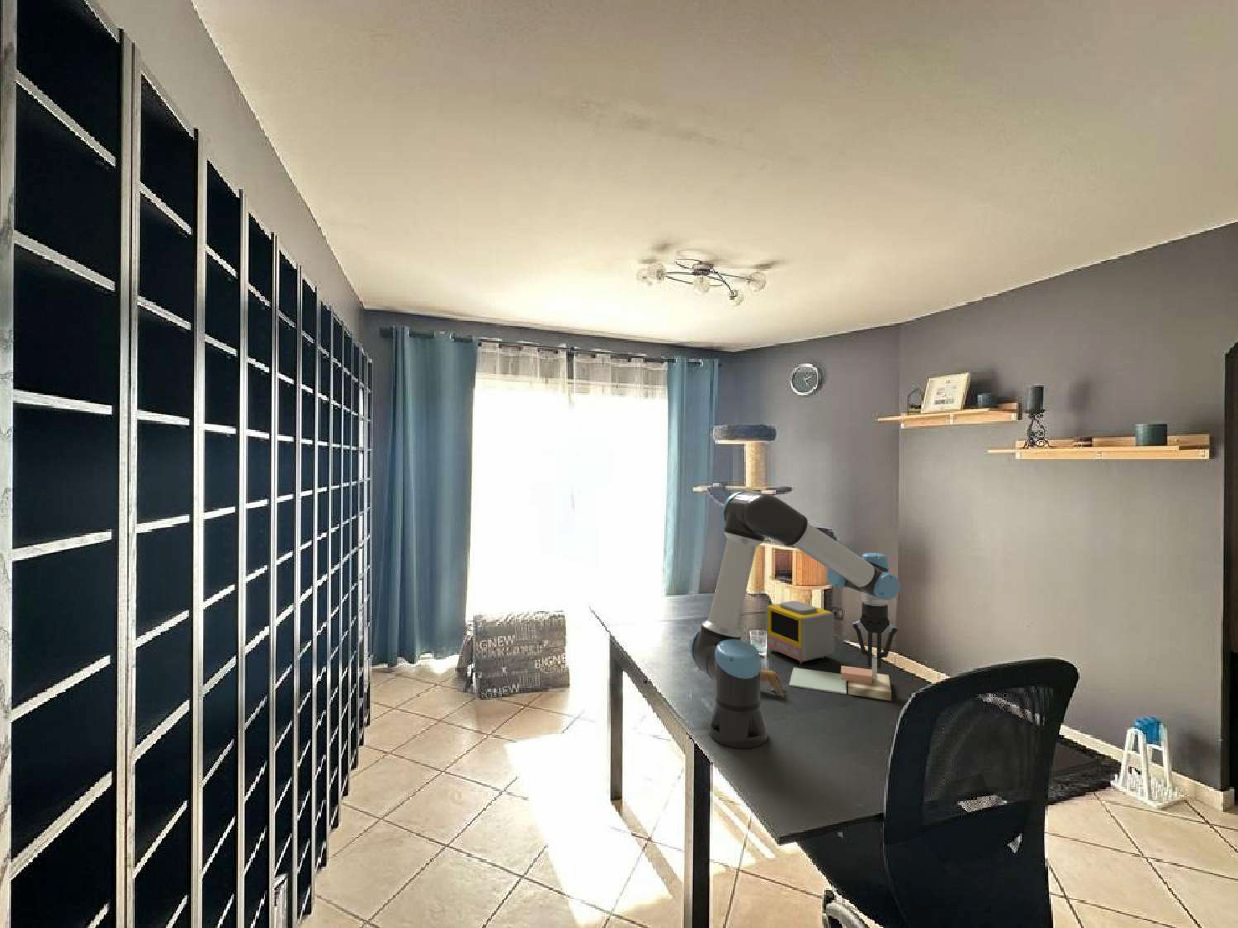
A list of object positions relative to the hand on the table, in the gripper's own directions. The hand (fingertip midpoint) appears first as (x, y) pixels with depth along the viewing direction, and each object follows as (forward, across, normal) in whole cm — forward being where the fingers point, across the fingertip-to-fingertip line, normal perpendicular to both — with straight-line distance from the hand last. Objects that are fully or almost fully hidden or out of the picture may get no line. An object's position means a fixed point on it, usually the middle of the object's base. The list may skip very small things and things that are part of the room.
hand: (874, 677), depth 177 cm
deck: (+4, -2, 0) cm, 4 cm away
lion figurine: (+4, -33, -14) cm, 36 cm away
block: (+1, -5, 0) cm, 5 cm away
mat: (+4, -17, 0) cm, 17 cm away
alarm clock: (+4, -25, +22) cm, 33 cm away
